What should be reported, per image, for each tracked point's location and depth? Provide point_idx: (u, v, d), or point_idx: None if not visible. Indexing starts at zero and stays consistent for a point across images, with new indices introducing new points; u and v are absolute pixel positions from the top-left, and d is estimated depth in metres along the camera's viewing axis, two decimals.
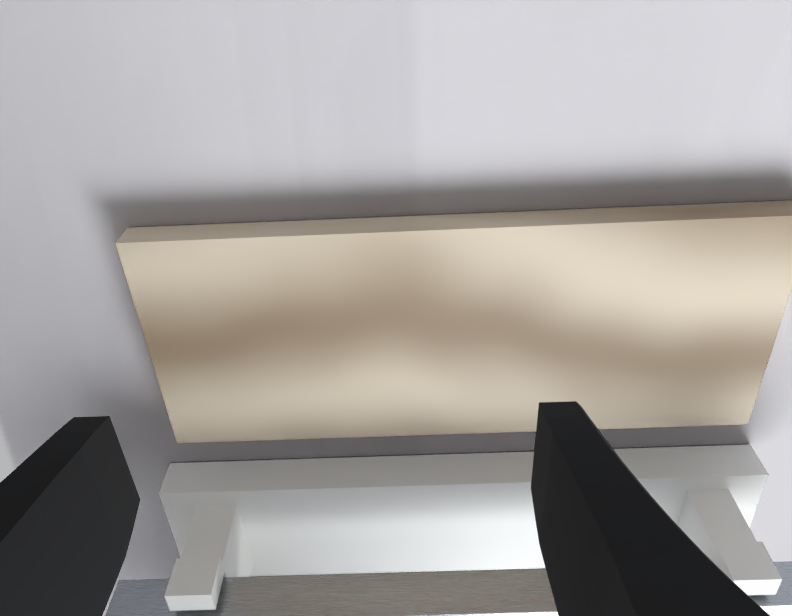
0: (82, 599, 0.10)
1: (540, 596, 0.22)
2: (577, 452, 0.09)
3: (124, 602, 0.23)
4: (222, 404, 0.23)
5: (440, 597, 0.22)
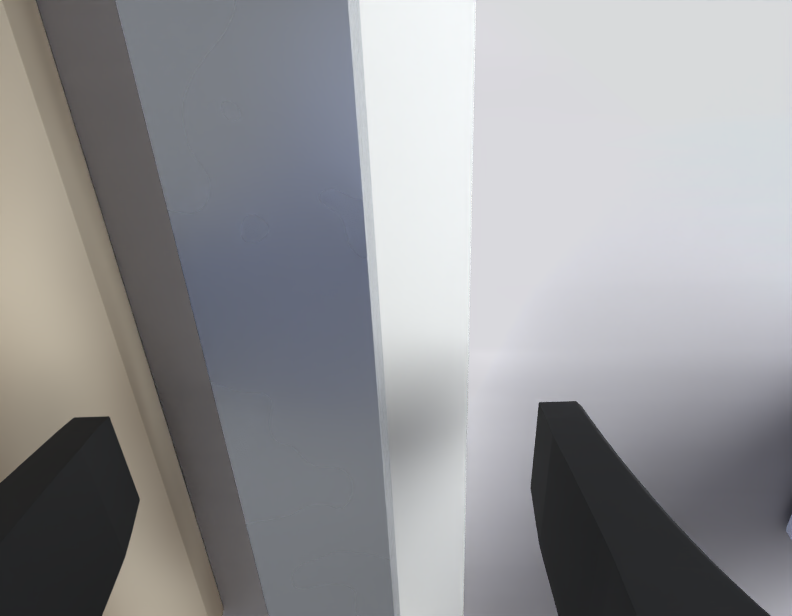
0: (82, 600, 0.10)
1: None
2: (577, 452, 0.09)
3: None
4: (139, 602, 0.18)
5: None
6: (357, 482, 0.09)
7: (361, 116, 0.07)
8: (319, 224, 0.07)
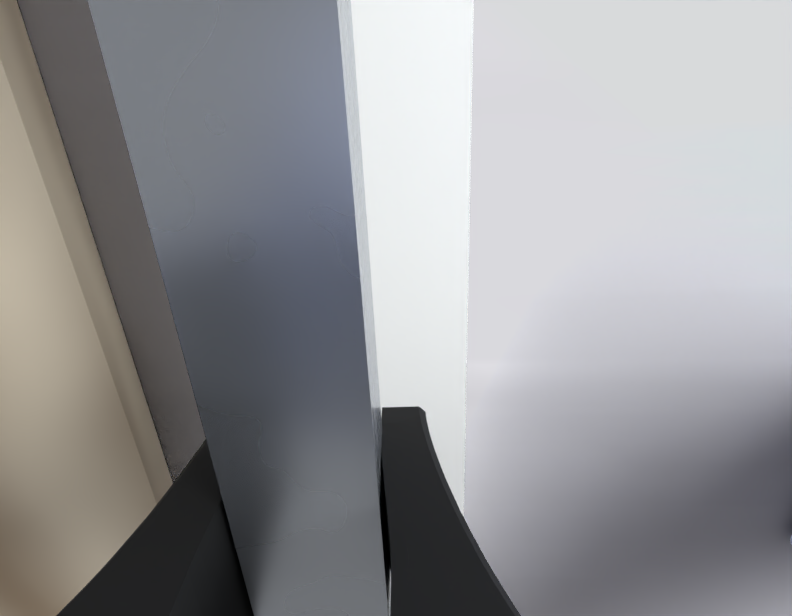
0: (248, 596, 0.10)
1: None
2: (396, 457, 0.10)
3: None
4: None
5: None
6: (351, 506, 0.09)
7: (353, 128, 0.07)
8: (309, 242, 0.07)
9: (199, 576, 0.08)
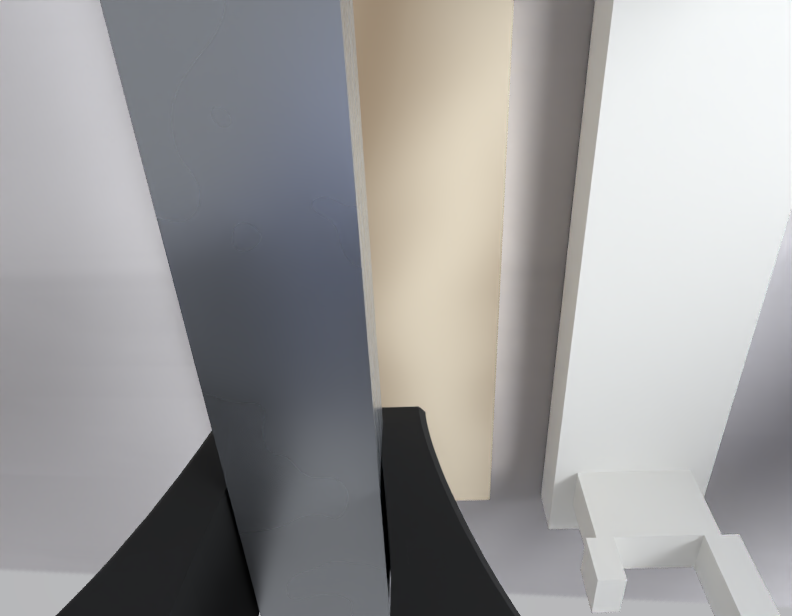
0: (248, 595, 0.10)
1: None
2: (396, 457, 0.10)
3: None
4: None
5: None
6: (352, 492, 0.09)
7: (355, 122, 0.07)
8: (312, 232, 0.07)
9: (200, 576, 0.08)
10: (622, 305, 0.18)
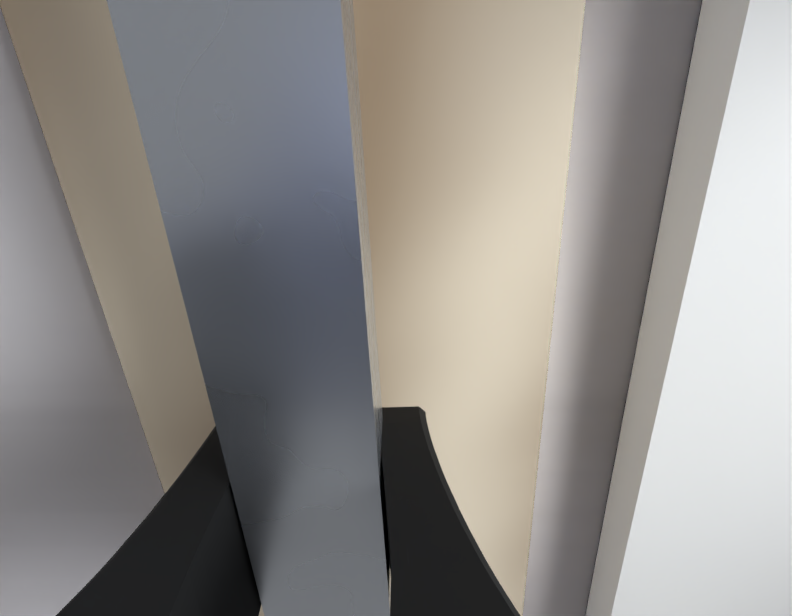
0: (248, 595, 0.10)
1: None
2: (396, 457, 0.10)
3: None
4: None
5: None
6: (352, 483, 0.09)
7: (355, 118, 0.07)
8: (313, 226, 0.07)
9: (199, 576, 0.08)
10: (708, 463, 0.13)
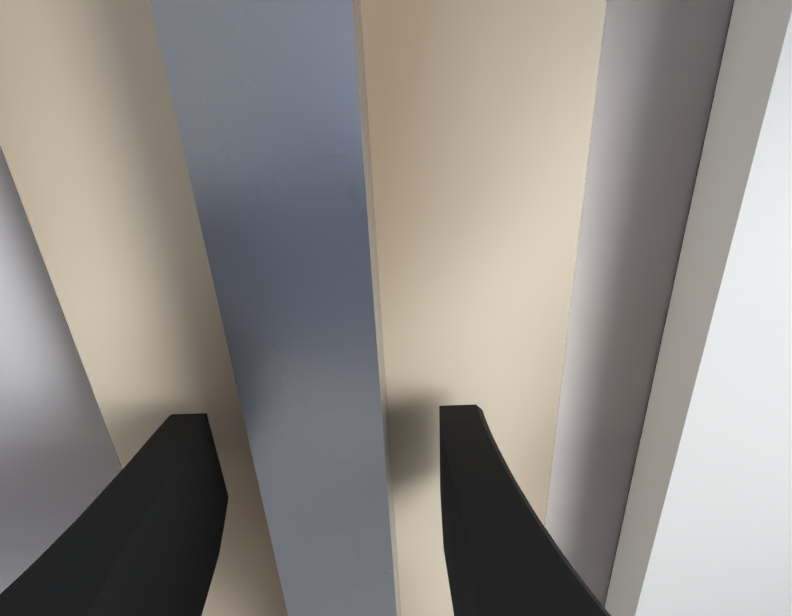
0: (188, 597, 0.10)
1: None
2: (462, 455, 0.10)
3: None
4: None
5: None
6: (357, 430, 0.10)
7: (362, 90, 0.08)
8: (324, 187, 0.08)
9: (126, 578, 0.08)
10: (730, 508, 0.12)
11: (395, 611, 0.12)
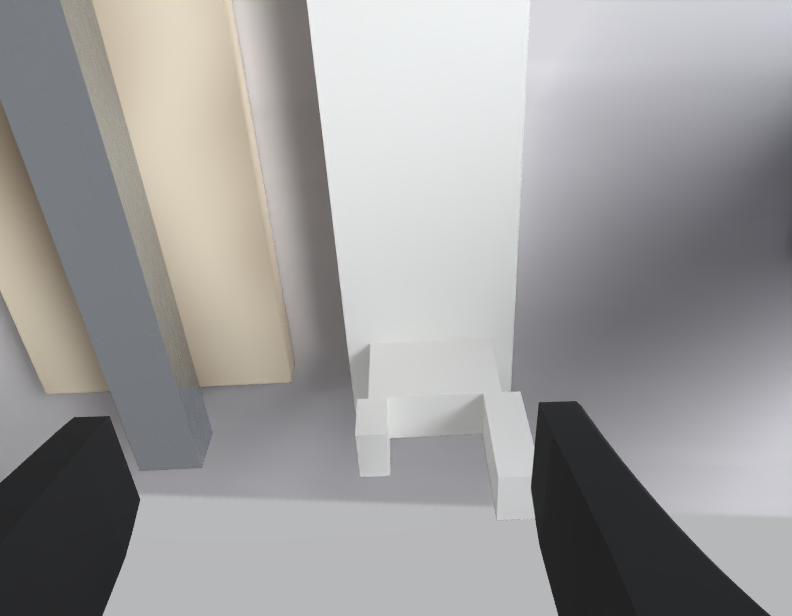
0: (82, 599, 0.10)
1: None
2: (577, 452, 0.09)
3: None
4: (226, 336, 0.21)
5: None
6: (48, 19, 0.14)
7: None
8: None
9: None
10: (372, 135, 0.17)
11: (124, 213, 0.17)
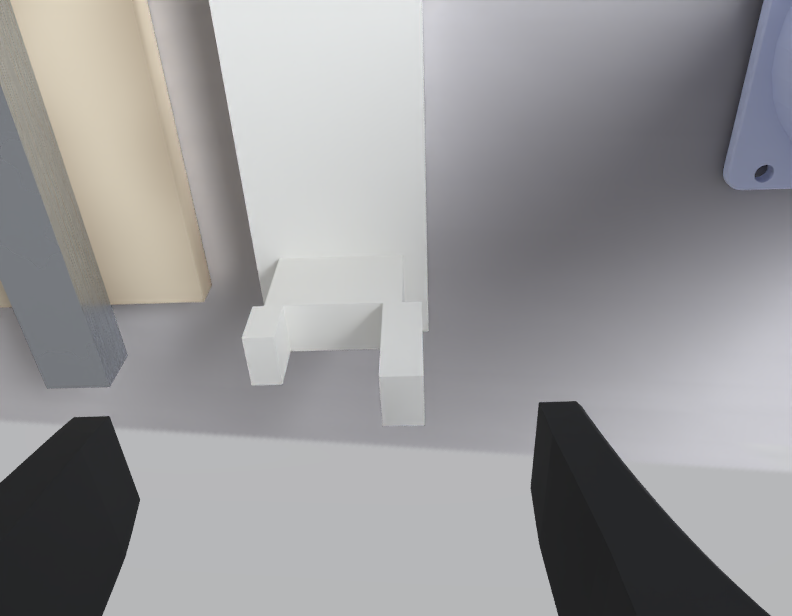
0: (82, 600, 0.10)
1: None
2: (577, 452, 0.09)
3: None
4: (133, 248, 0.20)
5: None
6: None
7: None
8: None
9: None
10: (265, 23, 0.16)
11: (5, 100, 0.16)
